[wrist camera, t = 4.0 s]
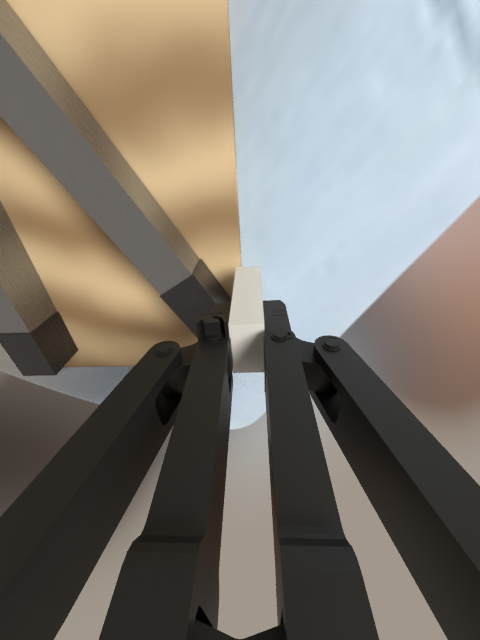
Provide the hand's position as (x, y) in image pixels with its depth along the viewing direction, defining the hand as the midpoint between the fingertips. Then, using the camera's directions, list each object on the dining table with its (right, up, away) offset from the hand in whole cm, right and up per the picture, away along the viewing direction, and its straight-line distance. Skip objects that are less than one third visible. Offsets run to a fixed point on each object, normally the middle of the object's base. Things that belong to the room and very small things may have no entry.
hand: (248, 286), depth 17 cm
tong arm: (-7, +5, -1) cm, 9 cm away
